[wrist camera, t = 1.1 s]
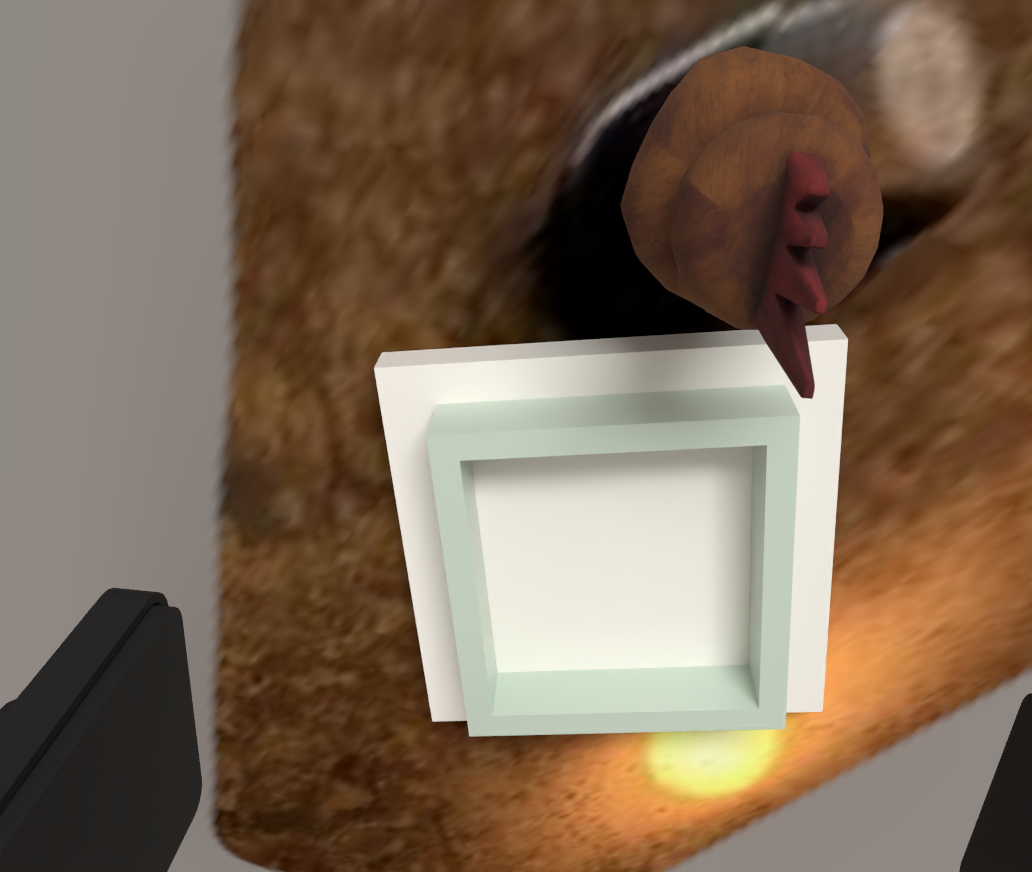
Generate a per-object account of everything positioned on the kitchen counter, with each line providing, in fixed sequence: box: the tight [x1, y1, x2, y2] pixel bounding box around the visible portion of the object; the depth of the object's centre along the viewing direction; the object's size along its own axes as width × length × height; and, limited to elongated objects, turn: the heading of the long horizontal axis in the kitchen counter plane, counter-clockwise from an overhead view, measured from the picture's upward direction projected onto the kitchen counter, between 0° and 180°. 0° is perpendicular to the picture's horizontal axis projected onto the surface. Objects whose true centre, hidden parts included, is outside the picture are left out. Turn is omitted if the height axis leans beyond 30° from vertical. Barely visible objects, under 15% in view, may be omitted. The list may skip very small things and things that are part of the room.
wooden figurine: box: [621, 46, 883, 399], centre depth 24 cm, size 7×6×15 cm
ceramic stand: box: [374, 324, 848, 736], centre depth 35 cm, size 16×16×4 cm
